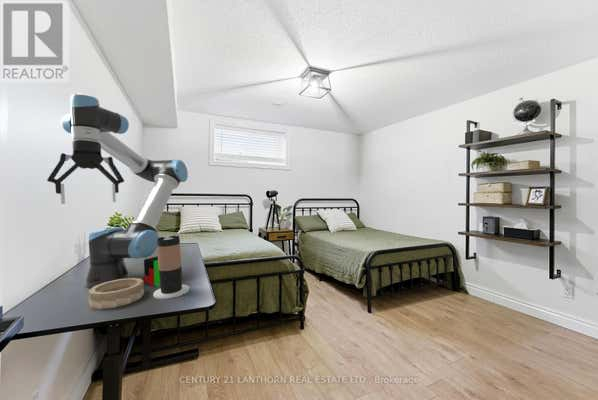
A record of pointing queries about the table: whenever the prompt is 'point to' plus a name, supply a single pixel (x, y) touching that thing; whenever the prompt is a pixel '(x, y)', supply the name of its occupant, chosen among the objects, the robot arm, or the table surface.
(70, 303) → the table surface
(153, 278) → the puzzle toy
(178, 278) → the travel mug
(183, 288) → the white round disc
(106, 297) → the holder ring
